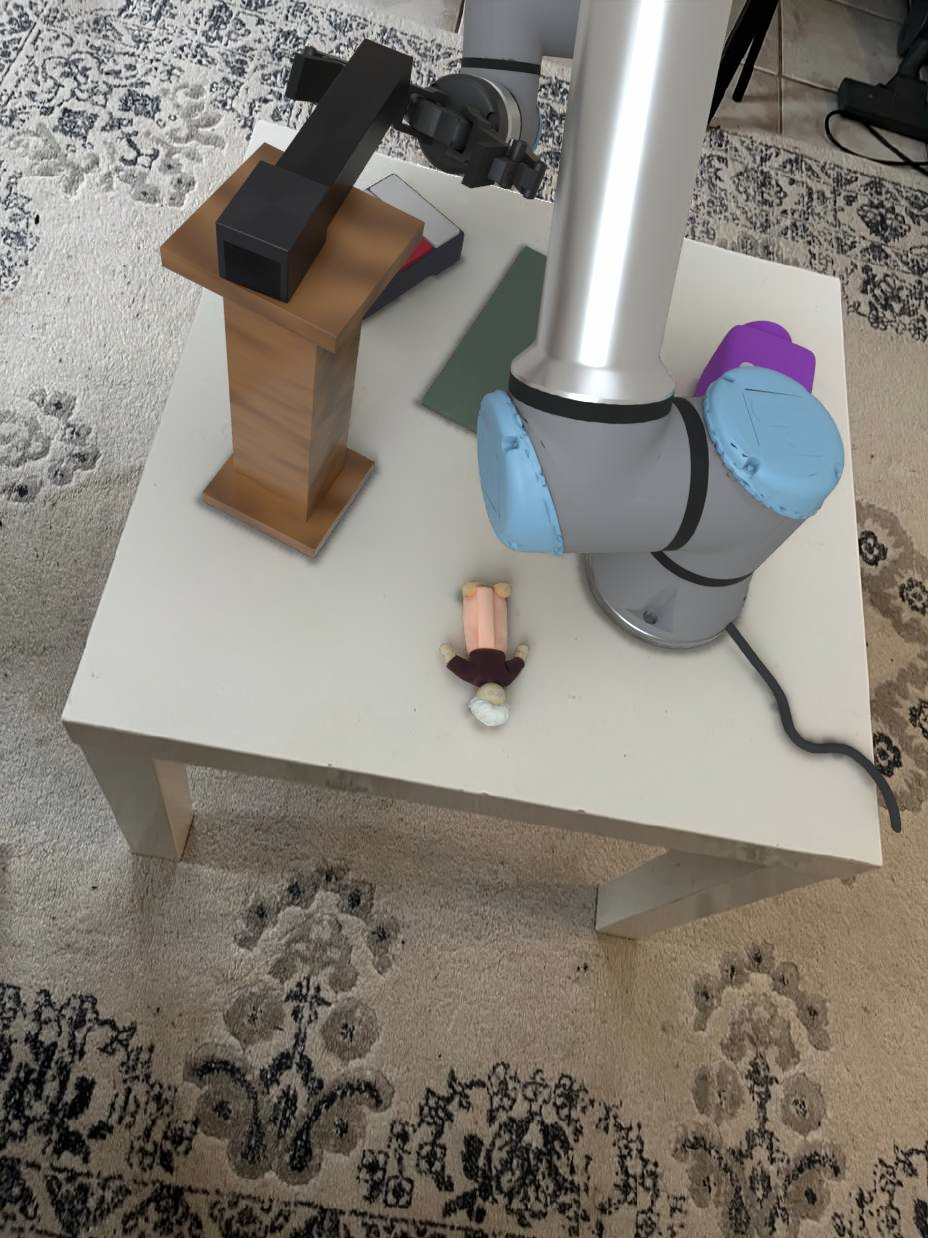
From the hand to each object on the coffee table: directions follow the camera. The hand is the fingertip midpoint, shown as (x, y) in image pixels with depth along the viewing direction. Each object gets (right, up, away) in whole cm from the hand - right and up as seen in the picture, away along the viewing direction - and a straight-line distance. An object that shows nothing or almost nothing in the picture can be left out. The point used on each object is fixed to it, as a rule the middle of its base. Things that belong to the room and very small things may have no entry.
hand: (383, 120), depth 60 cm
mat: (+12, -5, +33) cm, 36 cm away
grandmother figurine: (+7, -31, +18) cm, 36 cm away
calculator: (-4, +5, +35) cm, 35 cm away
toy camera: (+33, -12, +35) cm, 50 cm away
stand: (-10, -21, +21) cm, 31 cm away
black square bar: (-4, -5, -2) cm, 6 cm away
